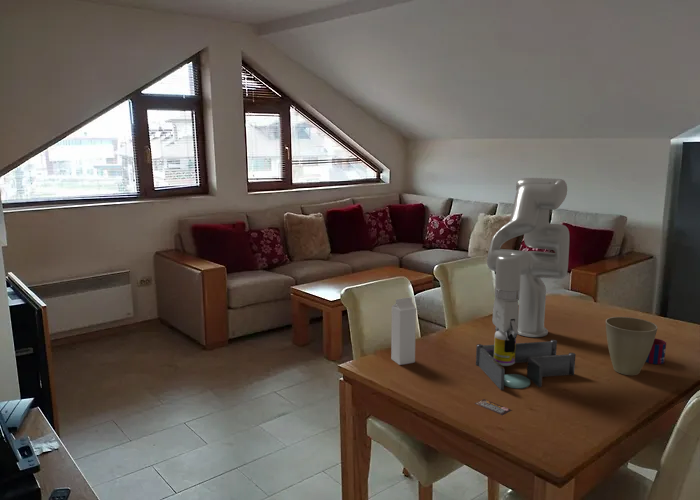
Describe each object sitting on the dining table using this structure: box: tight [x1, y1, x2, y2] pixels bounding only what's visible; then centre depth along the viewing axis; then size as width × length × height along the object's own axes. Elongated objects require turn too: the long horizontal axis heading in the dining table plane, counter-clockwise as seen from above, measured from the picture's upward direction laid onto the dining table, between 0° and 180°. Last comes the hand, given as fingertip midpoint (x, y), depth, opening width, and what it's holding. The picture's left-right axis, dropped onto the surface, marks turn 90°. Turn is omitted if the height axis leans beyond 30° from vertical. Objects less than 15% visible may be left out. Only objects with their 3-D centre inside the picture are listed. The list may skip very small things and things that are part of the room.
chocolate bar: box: [474, 399, 513, 417], centre depth 164 cm, size 11×5×1 cm, turn 42°
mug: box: [645, 337, 667, 365], centre depth 196 cm, size 7×10×7 cm
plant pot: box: [605, 316, 658, 376], centre depth 186 cm, size 15×15×16 cm
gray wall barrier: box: [475, 339, 577, 391], centre depth 186 cm, size 20×28×7 cm
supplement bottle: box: [493, 328, 517, 367], centre depth 187 cm, size 7×7×13 cm
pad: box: [504, 373, 531, 389], centre depth 180 cm, size 9×9×1 cm
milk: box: [390, 296, 417, 366], centre depth 195 cm, size 6×6×22 cm
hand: (504, 347), depth 187 cm, fingers closed on supplement bottle, 6 cm apart
